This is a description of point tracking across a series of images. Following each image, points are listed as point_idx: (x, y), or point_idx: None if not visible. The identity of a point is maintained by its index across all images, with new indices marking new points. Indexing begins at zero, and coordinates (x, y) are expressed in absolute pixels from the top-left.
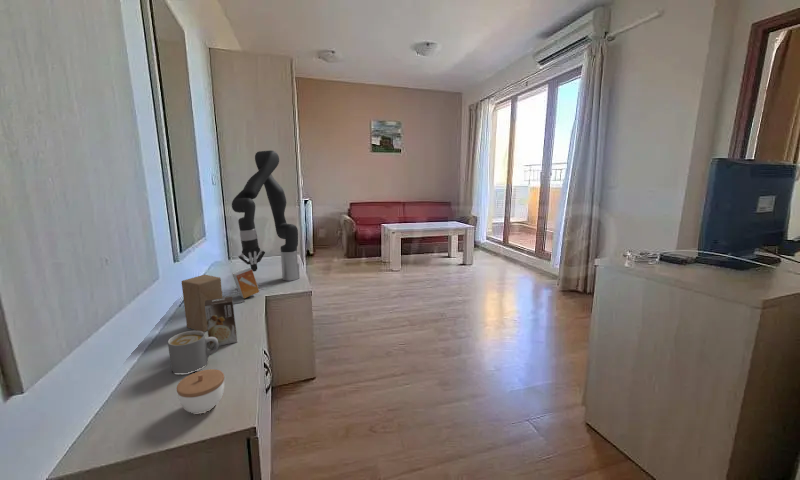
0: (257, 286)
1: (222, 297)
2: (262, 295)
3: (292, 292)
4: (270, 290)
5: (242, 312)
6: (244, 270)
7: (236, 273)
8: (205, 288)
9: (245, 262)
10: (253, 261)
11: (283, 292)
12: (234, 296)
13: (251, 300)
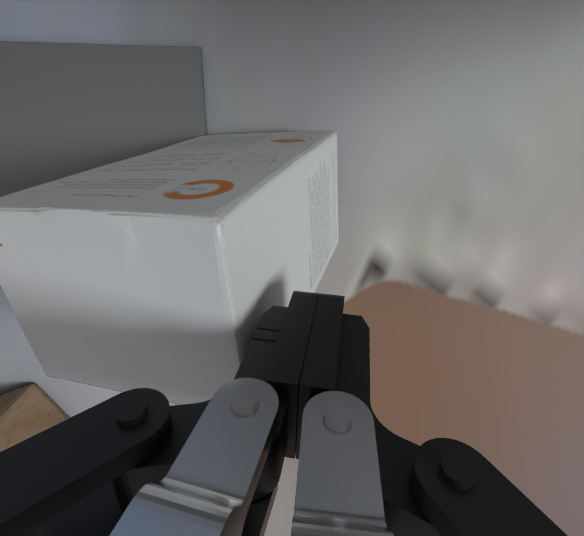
0: (325, 268)
1: (63, 82)
2: (360, 229)
3: (567, 310)
4: (475, 145)
5: (181, 404)
6: (142, 338)
7: (36, 317)
8: None
9: (76, 525)
10: (309, 456)
11: (520, 268)
12: (158, 126)
13: None
